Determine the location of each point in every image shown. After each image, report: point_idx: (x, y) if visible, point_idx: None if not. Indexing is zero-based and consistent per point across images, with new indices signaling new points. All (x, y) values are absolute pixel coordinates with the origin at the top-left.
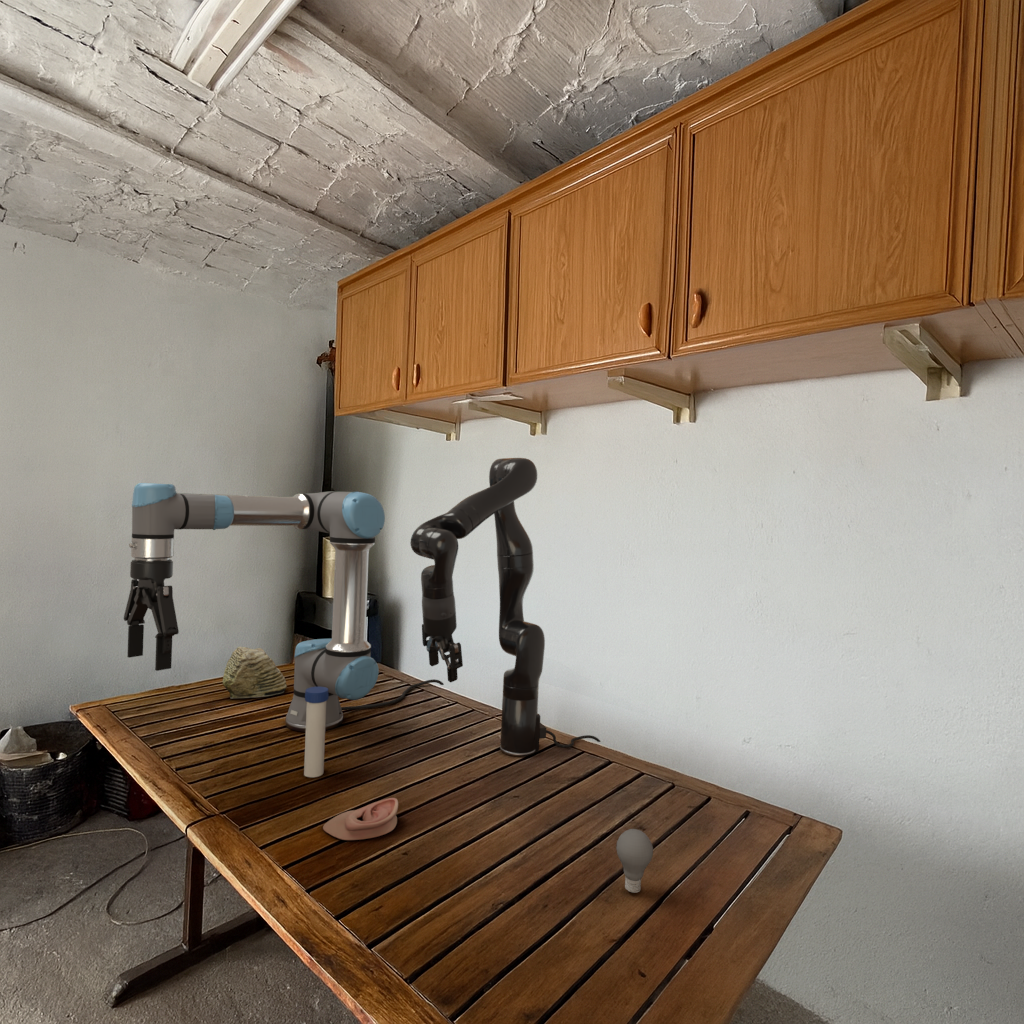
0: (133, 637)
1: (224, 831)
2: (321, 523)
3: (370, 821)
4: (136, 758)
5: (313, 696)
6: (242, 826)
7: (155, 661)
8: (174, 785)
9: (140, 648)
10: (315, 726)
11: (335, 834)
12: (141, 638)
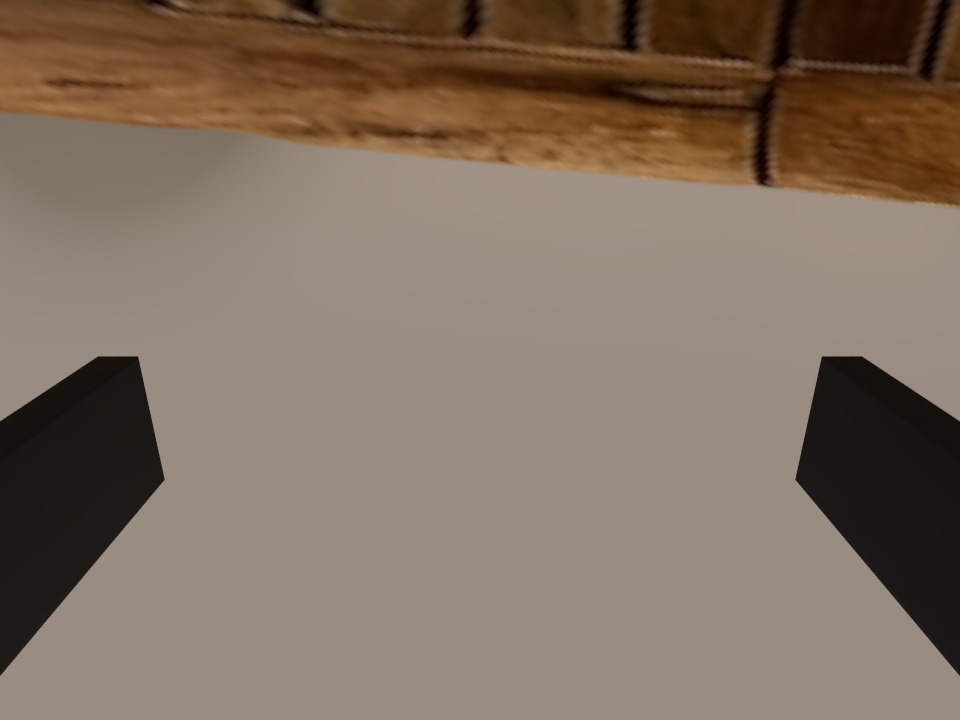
0: (20, 596)
1: (890, 121)
2: None
3: None
4: (95, 85)
5: None
6: (916, 60)
7: (841, 532)
8: (449, 85)
9: (96, 418)
10: None
11: None
12: (5, 480)
